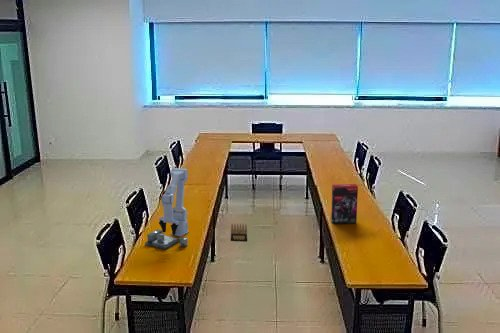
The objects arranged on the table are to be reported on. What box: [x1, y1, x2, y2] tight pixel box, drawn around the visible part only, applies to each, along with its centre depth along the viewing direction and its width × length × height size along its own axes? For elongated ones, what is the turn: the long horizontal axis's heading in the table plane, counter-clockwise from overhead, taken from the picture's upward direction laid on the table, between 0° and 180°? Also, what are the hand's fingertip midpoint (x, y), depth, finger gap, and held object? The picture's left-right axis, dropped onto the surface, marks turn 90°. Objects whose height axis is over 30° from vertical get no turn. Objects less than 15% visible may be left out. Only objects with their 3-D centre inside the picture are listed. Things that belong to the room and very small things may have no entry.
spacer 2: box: [179, 236, 188, 248], centre depth 330 cm, size 4×4×5 cm
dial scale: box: [144, 228, 180, 251], centre depth 334 cm, size 15×16×6 cm
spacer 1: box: [157, 232, 165, 243], centre depth 329 cm, size 4×4×5 cm
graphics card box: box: [330, 183, 359, 225], centre depth 366 cm, size 17×7×27 cm, turn 96°
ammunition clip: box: [230, 223, 248, 243], centre depth 337 cm, size 11×2×12 cm, turn 85°
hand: (169, 233), depth 328 cm, fingers open, 7 cm apart
